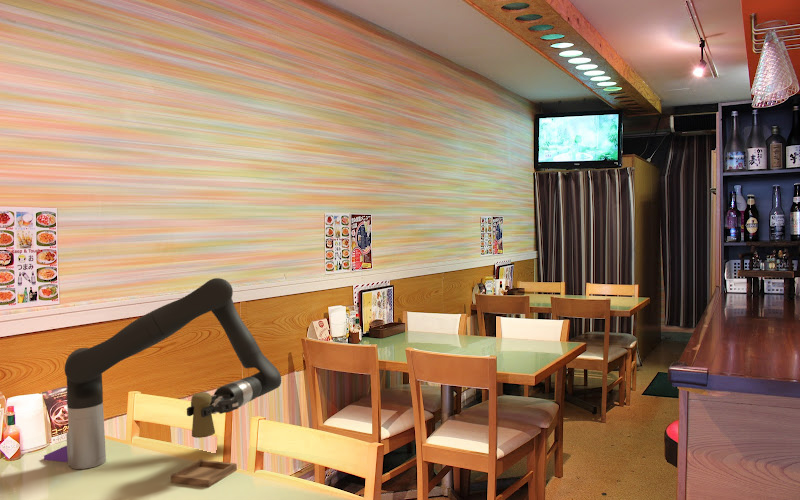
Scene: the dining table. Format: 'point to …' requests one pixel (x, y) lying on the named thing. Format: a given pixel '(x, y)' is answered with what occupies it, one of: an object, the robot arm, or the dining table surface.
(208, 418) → the olive pepper mill
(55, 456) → the bracket
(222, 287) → the robot arm
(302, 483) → the dining table surface
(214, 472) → the tray
